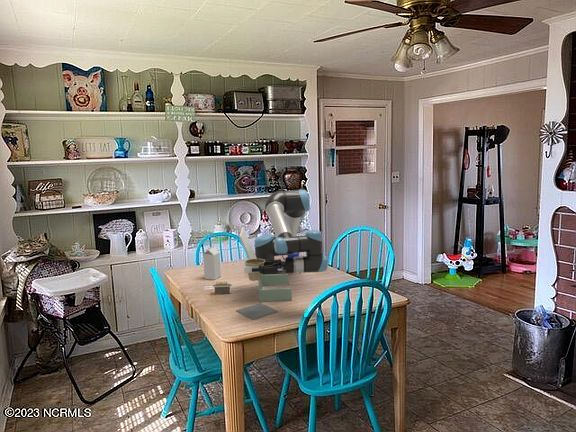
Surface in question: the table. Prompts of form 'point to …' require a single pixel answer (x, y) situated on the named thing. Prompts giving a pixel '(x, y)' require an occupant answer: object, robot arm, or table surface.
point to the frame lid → (247, 244)
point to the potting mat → (257, 311)
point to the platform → (222, 288)
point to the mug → (292, 255)
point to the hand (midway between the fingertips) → (244, 267)
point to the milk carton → (212, 263)
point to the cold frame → (274, 294)
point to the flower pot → (255, 275)
